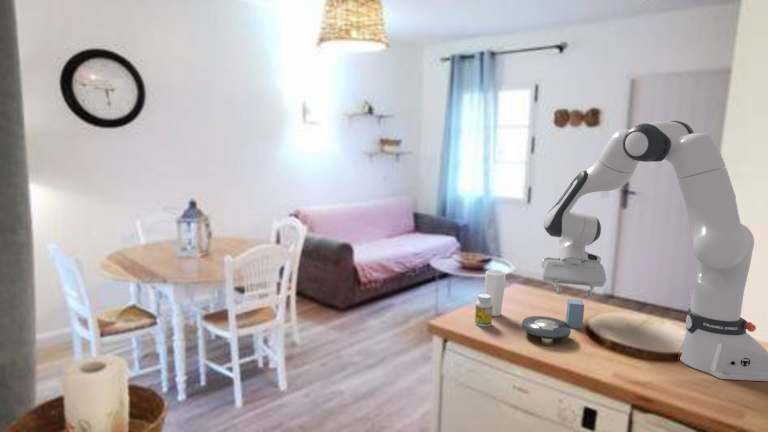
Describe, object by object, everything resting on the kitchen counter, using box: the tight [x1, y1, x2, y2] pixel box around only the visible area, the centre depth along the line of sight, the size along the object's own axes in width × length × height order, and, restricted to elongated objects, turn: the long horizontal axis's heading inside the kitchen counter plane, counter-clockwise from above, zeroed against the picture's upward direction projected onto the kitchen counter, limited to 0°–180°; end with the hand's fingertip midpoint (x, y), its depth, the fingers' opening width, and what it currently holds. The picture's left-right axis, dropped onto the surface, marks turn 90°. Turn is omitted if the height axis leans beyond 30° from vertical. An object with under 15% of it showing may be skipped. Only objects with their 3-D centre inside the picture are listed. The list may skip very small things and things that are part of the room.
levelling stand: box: [521, 315, 572, 347], centre depth 142 cm, size 14×14×5 cm
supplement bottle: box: [474, 293, 493, 327], centre depth 151 cm, size 5×5×10 cm
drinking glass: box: [484, 269, 507, 317], centre depth 159 cm, size 7×7×15 cm
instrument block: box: [565, 298, 585, 329], centre depth 151 cm, size 4×4×8 cm
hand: (574, 294), depth 155 cm, fingers open, 8 cm apart
